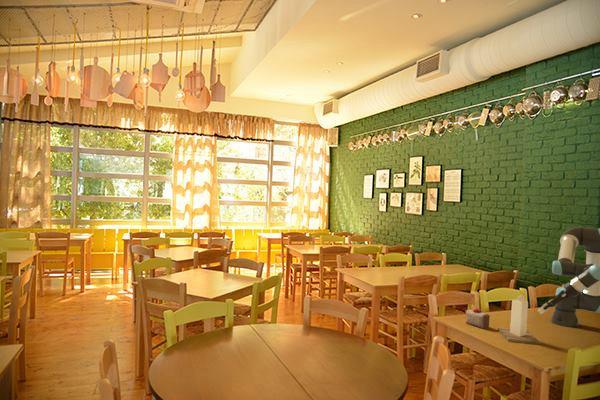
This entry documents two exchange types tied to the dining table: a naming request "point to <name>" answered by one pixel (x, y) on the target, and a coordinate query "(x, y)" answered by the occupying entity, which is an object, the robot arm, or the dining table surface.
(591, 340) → the dining table surface
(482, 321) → the food item
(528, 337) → the tan board
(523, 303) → the milk
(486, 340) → the dining table surface
